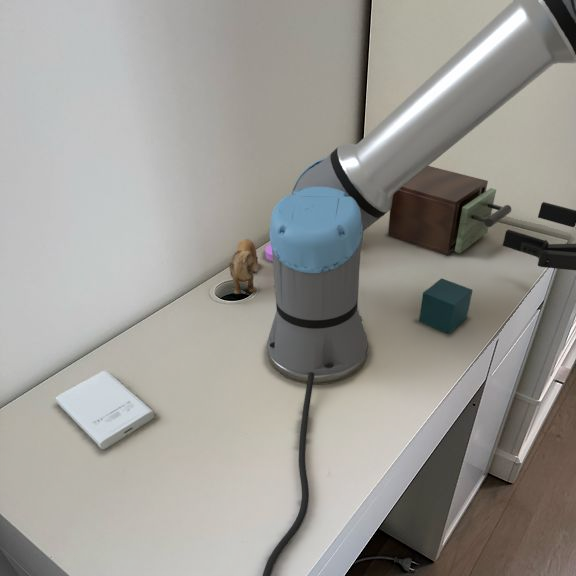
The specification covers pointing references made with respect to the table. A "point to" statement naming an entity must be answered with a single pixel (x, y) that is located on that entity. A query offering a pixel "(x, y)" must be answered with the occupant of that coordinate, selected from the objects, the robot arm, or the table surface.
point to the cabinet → (431, 207)
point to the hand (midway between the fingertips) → (523, 223)
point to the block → (445, 305)
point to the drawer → (476, 218)
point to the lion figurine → (244, 265)
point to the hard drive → (104, 409)
